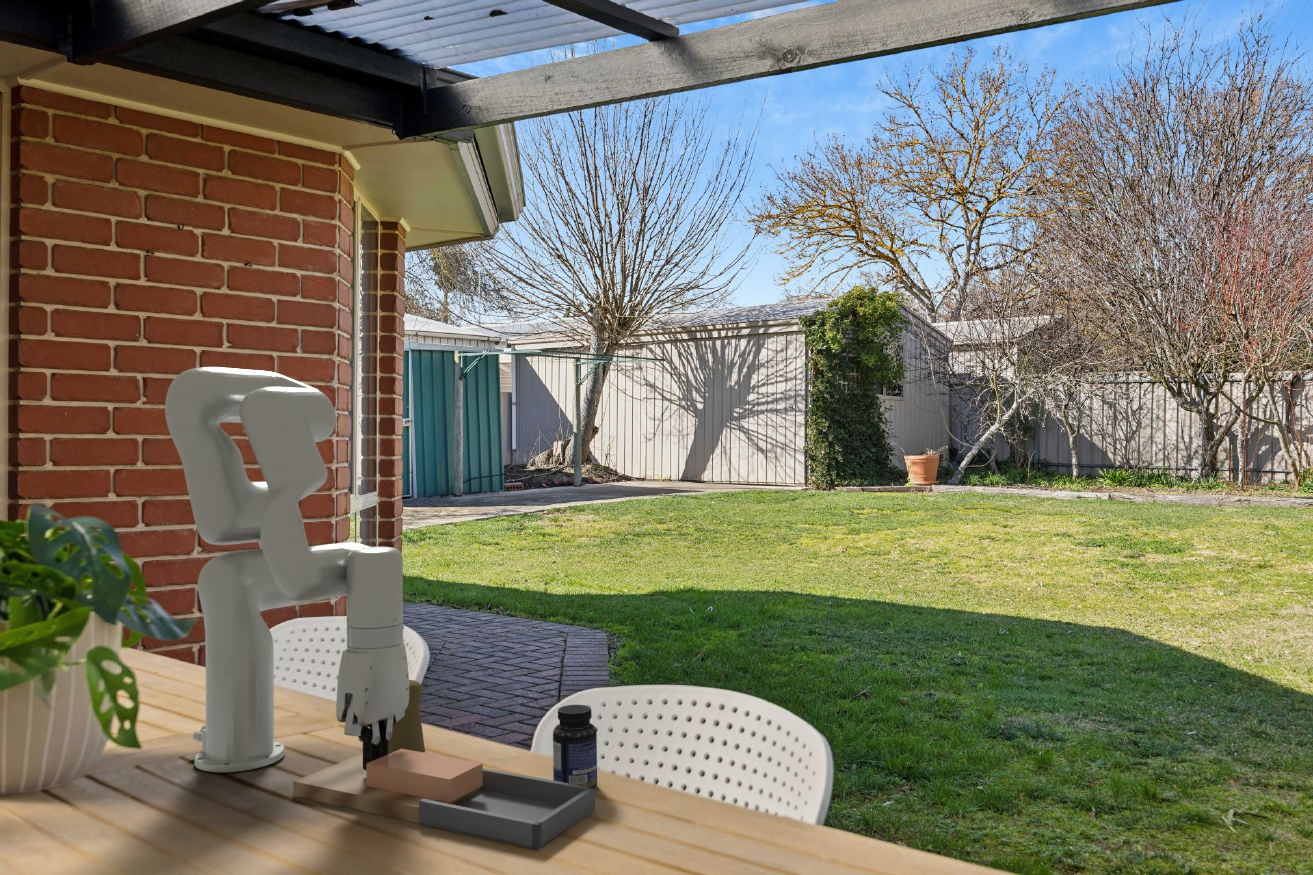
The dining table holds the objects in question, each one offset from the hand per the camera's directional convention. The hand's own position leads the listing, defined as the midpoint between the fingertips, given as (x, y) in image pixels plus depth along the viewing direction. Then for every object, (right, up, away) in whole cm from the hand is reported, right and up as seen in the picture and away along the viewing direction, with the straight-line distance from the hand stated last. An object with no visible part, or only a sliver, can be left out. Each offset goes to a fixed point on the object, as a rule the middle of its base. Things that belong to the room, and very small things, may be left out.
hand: (375, 769), depth 135 cm
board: (+2, -3, -1) cm, 4 cm away
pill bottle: (+28, -3, +1) cm, 28 cm away
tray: (+20, -3, -10) cm, 22 cm away
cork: (0, -3, +17) cm, 17 cm away
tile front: (+11, -1, -5) cm, 12 cm away
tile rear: (+5, -1, -2) cm, 5 cm away
